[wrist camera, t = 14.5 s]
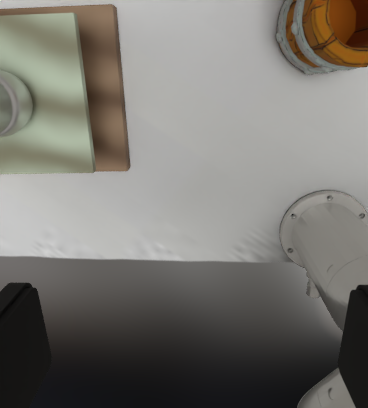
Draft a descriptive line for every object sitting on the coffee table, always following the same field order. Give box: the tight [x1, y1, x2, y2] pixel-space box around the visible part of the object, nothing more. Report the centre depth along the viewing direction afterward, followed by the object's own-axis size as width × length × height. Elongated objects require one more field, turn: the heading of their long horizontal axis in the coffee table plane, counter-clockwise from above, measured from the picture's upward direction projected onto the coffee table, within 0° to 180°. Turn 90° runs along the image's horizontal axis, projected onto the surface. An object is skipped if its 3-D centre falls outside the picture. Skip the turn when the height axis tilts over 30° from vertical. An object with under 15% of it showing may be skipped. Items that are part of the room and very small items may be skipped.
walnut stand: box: [0, 4, 130, 174], centre depth 41 cm, size 20×20×10 cm
